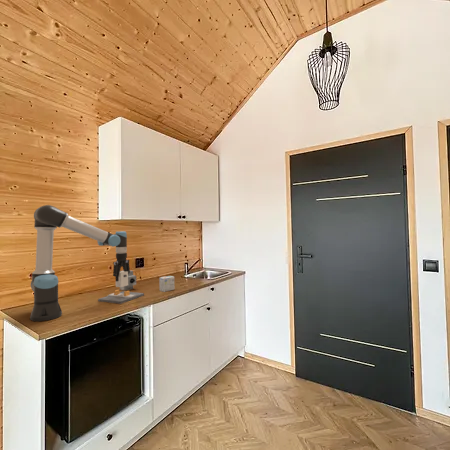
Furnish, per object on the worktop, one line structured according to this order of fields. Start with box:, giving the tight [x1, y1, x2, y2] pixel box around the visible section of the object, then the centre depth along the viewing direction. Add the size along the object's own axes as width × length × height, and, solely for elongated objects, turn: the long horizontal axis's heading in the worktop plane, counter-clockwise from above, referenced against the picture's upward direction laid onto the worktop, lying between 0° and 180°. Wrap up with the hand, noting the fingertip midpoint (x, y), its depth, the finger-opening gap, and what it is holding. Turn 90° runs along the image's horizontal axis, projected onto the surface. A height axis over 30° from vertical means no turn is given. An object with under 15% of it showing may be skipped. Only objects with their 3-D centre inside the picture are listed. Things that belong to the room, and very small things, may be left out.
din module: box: [115, 270, 128, 288], centre depth 197 cm, size 7×6×10 cm
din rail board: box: [97, 289, 145, 305], centre depth 197 cm, size 24×20×5 cm
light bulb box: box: [158, 275, 176, 293], centre depth 221 cm, size 11×7×11 cm, turn 141°
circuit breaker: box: [119, 269, 137, 291], centre depth 225 cm, size 8×14×15 cm, turn 53°
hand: (121, 284), depth 197 cm, fingers closed on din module, 7 cm apart
